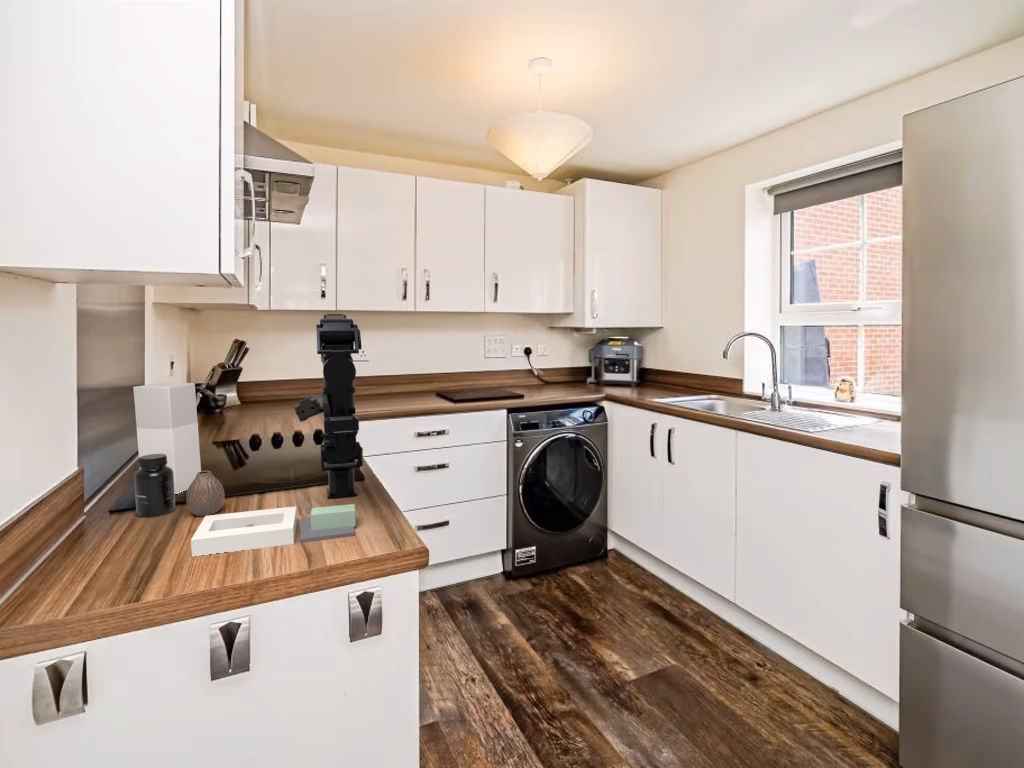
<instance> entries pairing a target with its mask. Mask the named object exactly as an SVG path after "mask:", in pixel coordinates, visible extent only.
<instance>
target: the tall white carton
mask: <svg viewBox="0 0 1024 768" xmlns="http://www.w3.org/2000/svg"><path fill="white" fill-rule="evenodd" d="M196 397H197V396H196V384H195V383H194V382H157V383H151V384H144V385H138V386H137V385H136V386H133V399H134V409H135V410H134V412H135V425H136V438H137V449H138V450H137V451H138V459H139V458H140V457H142V456H145V455H150V454H166V456H167V464H166V466H168V467H170V468H171V469H172V470H173V476H174V492H175V494H178V495H180V494H182V493H184V492H183V491H185V492H187V491H186V490H188V487H189V486H190V484H191V483H192V482H193V480H194V479H195V477H196V475H197V473H198V472H201V471H202V465H201V453H200V449H201V448H200V437H199V435H200V434H199V424H198V423H199V422H198V411H197V410H198V409H197V398H196ZM140 469H141V467H139V470H140ZM181 492H182V493H181ZM179 493H180V494H179Z"/></svg>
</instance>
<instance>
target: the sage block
mask: <svg viewBox="0 0 1024 768" xmlns="http://www.w3.org/2000/svg"><path fill="white" fill-rule="evenodd" d="M310 510H311V511H310V517H311V530H321V529H330V528H339V527H349V526H354V527H355V526H356V504H355V503H350V504H339V505H331V506H319V507H312V508H311V509H310Z"/></svg>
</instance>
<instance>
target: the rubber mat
mask: <svg viewBox="0 0 1024 768" xmlns="http://www.w3.org/2000/svg"><path fill="white" fill-rule="evenodd" d="M300 524H301V525H300V526H301V528H300V534H299V543H305V542H313V541H320V540H329V539H330V540H331V539H337V538H346V537H353V536H355V526H349V527H339V528H330V529H321V530H311V516H310V517H303V518H301V523H300Z"/></svg>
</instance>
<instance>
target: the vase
mask: <svg viewBox="0 0 1024 768" xmlns="http://www.w3.org/2000/svg"><path fill="white" fill-rule="evenodd" d="M185 497H186V498H185V501H186V502H185V503H186V506H187V508H188V510H189V511H190V512H191V514H193V515H195V516H196V517H205V516H208V515H212V514H213V515H216V514H217V513H218V512H219V511H220V510H221V509H222V507H223V505H224V502H225V489H224V487H223V484H222V482H221V481H220V480H219V479H218V478H216V477H215V476H214V474H213V473H212V471H210V470H201V472H198V473H197V475H196V477H195V479H194V480H193V482H192V483H191V484H190V486H189V487H188V490H187V491H186V496H185Z"/></svg>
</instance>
